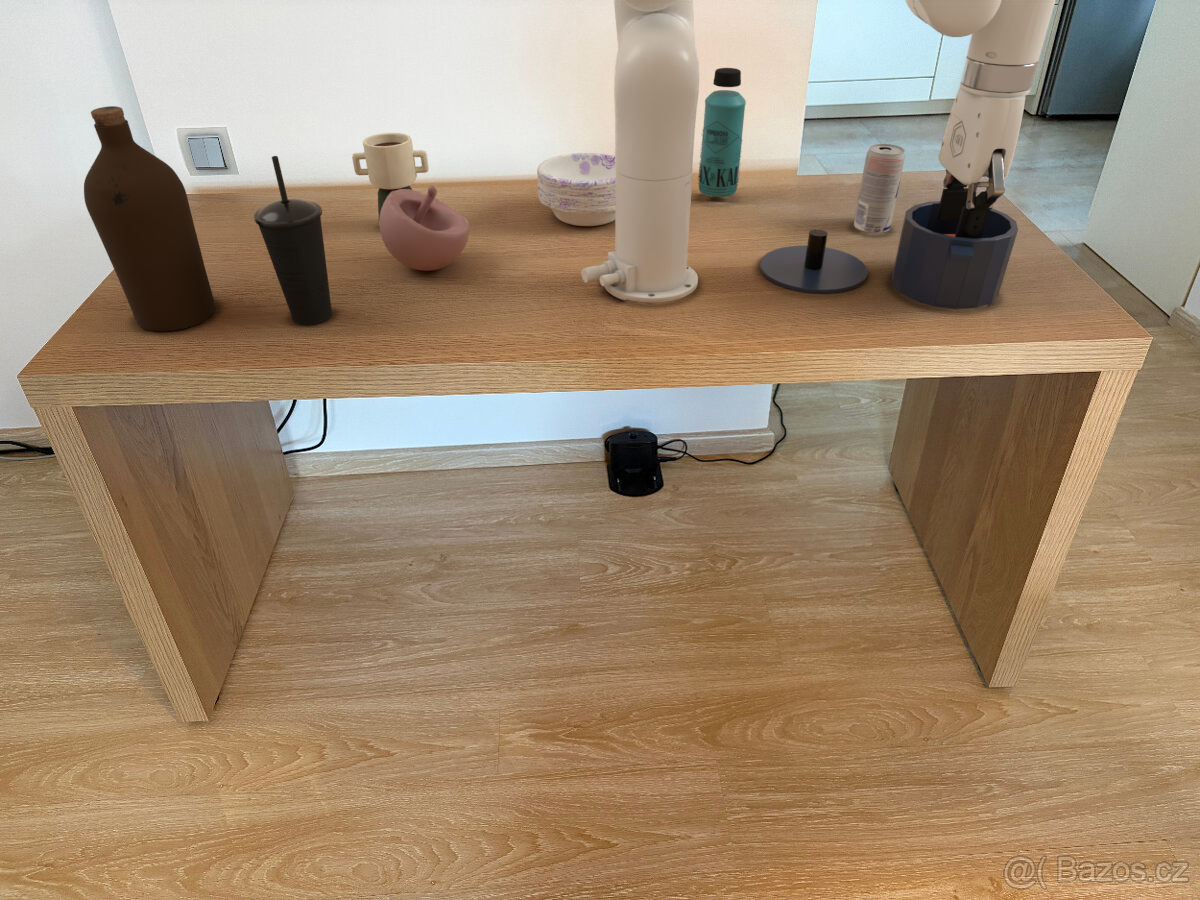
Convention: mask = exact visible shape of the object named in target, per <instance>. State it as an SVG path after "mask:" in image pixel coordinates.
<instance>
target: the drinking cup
mask: <svg viewBox="0 0 1200 900" xmlns="http://www.w3.org/2000/svg"><path fill="white" fill-rule="evenodd" d="M271 160H272V165H273V169H274V174H275V177H276V182H277V187H278V190H279V193H280V198H281V199H277V200H274V201H272V202H270V203H268V204H266V205H263V206H262V207H260V208H259V209H257V210H256V211H255V212H254V214H253V220H254V222H255V224H256V225H257V226H258V227H259V228H258V229H259V230H260V233H261V235H262V239H263V241H264V244H265V247H266V249H267V253H268V256H269V258H270V261H271V263H272V266H273V269H274V272H275V274H276V277H277V281H278V282H279V286H280V288H281V291H282V295H283V296H284V299H285V302H286V305H287V307H288V311H289V313H290V316H291V318H292V320H293V322H294V323H295V324H297V325H301V326H313V325H319V324H322V323H325V322H326V321H328V320H329V319H330V318H331V317H332V316H333V310H332V302H331V301H332V300H331V293H330V284H329V277H328V268H327V259H326V252H325V251H326V250H325V242H324V235H323V234H324V233H323V226H322V217H321V216H322V215H323V208H322V206H321V205H320V204H319V203H317V202H315V201H311V200H305V199H301V198H288V194H287V189H286V185H285V181H284V178H283V173H282V169H281V164H280V160H279V156H278V155H273V156H271Z"/></svg>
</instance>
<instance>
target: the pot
mask: <svg viewBox="0 0 1200 900" xmlns="http://www.w3.org/2000/svg"><path fill="white" fill-rule="evenodd" d="M939 205H940V200H938V201H937V200H936V201H925V202H922V203H918V204H914V205H912V206H911V207H909V208H908V209H906V210H905V213H904V218H903V223H902V228H901V232H900V237H899V241H898V245H897V251H896V255H895V261H894V265H893V269H892V274H891V285H892V286H893V287H894V289H896V291H897V292H898V293H900V294H901V295H903V296H905V297H907V298H908V299H910V300H912V301H915V302H918V303H921V304H925V305H929V306H931V307H937V308H946V309H953V310H961V309H976V308H980V307H983V306H986V305H987V308H989V307H991V306H992V305H993V304H994V303H995V302H996V301H997V298H998V297H999V295H1000V291H1001V288H1002V284H1003V282H1004V278H1005V274H1006V272H1007V268H1008V264H1009V262H1010V258H1011V255H1012V252H1013V249H1014V245H1015V241H1016V238H1017V235H1018V231H1019V227H1018V223H1017V220H1015V219H1014V218H1012V217H1011V216H1010V215H1009V214H1007V213H1005V212H1002V211H1000V210H997V209H995V208H994V207H993V208H992V209H991V210H990V211H989V215H988V218H987V222H986V226H985V229H984V233H983V237H982V238H978V239H971V238H961V237H952V236H948V235H944V234H956V230H957V227H958V223H959V220H946V221H940V220H938V219H937V213H938V209H939ZM966 205H967V202H966ZM965 207H966V206H965Z"/></svg>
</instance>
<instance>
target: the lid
mask: <svg viewBox="0 0 1200 900" xmlns="http://www.w3.org/2000/svg"><path fill="white" fill-rule="evenodd" d="M827 241H828V232H827V230H824V229H819V228H818V229H817V228H816V229H810V230H809V232H808V238H807V245H806V244H805V245H789V246H784V247H780V248H775V249H773V250H771V251H769V252H767V253H766V254H764V255H763V256H762V257H761V258H760V262H759V270H760V273H761V274H762V275H763V277H764V278H766V280H768V281H770V282H771V283H772V284H775V285H777V286H779V287H782V288H784V289H789V290H792V291H798V292H801V293H809V294H837V293H844V292H847V291H850V290H854V289H856V288H858V287H860V286H861V285H863V284H864V283H865V281H866V280H867V277H868V268H867V266H866V264H865V263H864V262H863V261H862V260H860V259H859V258H858V257H856V256H854V255H852V254H851V253H848V252H845V251H842V250H839V249H836V248H832V247H826V246H827Z"/></svg>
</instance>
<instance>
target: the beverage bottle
mask: <svg viewBox="0 0 1200 900" xmlns="http://www.w3.org/2000/svg"><path fill="white" fill-rule="evenodd" d="M712 84H713V85H714V86H716V87H720V88H737V87H740V86H741V84H742V71H741V70H740V69H738V68H734V67H720V68H716V69H715V70H714V77H713V83H712ZM746 104H747V102H746V99H745V98H744V97H743V96H742V94H741V93H740V92H739V91H735V90H730V89H729V90H728V89H720V90H714V91H712V92H711V93H710V94H708V96H707V97H706V98H705V100H704V115H703V116H704V117H703V127H702V130H701V132H702V134H701V136H702V139H701V142H700V144H701V145H700V146H701V149H700V152H699V154H700V155H699V158H700V160H699V162H700V163H699V167H698V168H699V169H698V175H699V176H698V178H697V180H698V181H697V187H698V190H699V192H700V194H703V195H705V196H708V197H715V198H723V197H724V198H725V197H729V196H732V195H735V193H736V192H737V189H738V187H739V181H740V177H739V174H740V173H741V172H740V165H741V158H742V151H743V150H742V144H743V142H744V141H743V130H744V121H745V120H744V119H745V111H746Z"/></svg>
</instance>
